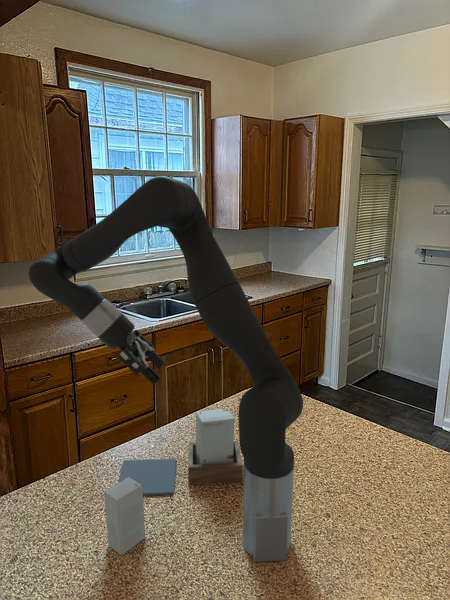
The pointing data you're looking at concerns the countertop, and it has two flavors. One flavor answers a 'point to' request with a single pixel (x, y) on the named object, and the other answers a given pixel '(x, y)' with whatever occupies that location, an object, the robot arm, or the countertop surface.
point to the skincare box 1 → (124, 515)
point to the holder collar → (214, 469)
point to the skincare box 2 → (214, 437)
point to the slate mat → (151, 475)
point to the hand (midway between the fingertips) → (159, 372)
